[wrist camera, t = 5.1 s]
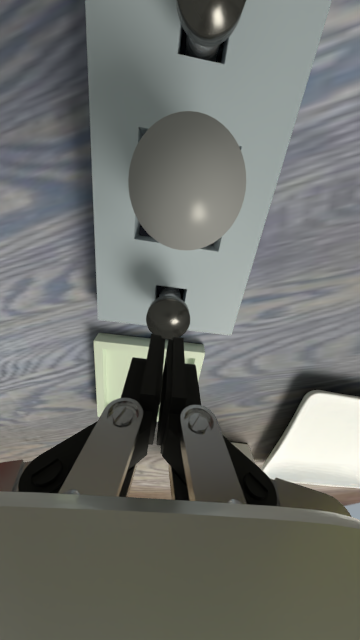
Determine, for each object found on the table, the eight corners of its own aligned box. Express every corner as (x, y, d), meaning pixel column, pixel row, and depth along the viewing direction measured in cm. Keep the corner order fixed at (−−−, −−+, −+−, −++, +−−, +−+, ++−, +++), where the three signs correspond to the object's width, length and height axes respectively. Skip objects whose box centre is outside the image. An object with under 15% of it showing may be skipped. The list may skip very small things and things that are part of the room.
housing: (310, 13, 14) (341, -31, 12) (225, 322, 25) (231, 335, 23) (100, -39, 13) (80, -102, 11) (106, 307, 24) (97, 319, 22)
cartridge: (220, 165, 18) (262, 124, 9) (207, 236, 21) (229, 257, 12) (153, 153, 18) (130, 98, 9) (148, 227, 20) (126, 242, 12)
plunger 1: (189, 281, 21) (193, 303, 17) (184, 313, 23) (186, 341, 18) (154, 276, 21) (147, 297, 16) (151, 309, 23) (144, 336, 18)
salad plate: (299, 375, 30) (313, 394, 27) (431, 391, 32) (457, 410, 29) (251, 460, 40) (257, 481, 37) (354, 469, 42) (368, 489, 39)
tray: (203, 344, 27) (205, 353, 25) (187, 413, 33) (187, 424, 31) (98, 332, 26) (93, 340, 24) (101, 406, 32) (97, 416, 30)
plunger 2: (232, 19, 14) (261, -80, 9) (220, 92, 16) (239, 41, 11) (179, 6, 14) (181, -103, 9) (172, 82, 16) (171, 25, 11)
